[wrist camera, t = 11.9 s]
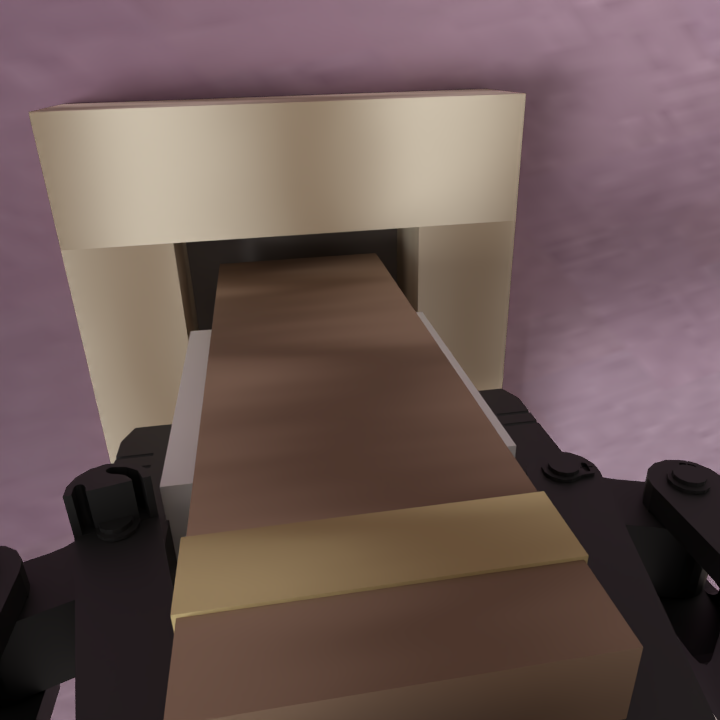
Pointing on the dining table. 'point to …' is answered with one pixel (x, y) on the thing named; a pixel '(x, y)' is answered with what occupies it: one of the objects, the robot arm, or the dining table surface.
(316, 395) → the block
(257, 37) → the dining table surface
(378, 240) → the socket block
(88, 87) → the dining table surface
